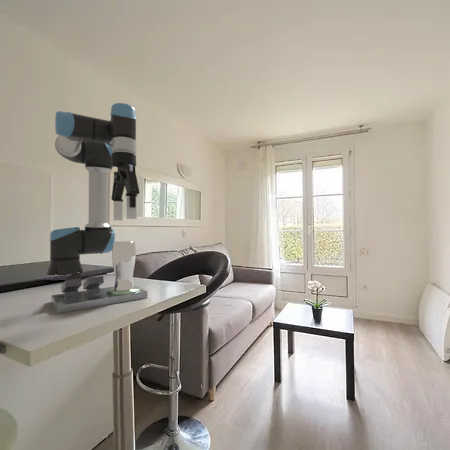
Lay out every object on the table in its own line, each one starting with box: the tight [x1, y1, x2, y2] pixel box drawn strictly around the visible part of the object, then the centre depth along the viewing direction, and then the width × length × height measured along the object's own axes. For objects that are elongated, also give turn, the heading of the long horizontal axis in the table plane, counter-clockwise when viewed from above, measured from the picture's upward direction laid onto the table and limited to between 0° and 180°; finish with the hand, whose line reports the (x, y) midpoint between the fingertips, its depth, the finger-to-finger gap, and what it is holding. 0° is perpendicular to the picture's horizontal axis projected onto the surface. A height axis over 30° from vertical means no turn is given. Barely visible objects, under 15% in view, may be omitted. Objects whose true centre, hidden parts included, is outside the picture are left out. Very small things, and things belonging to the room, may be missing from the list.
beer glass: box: [111, 240, 137, 291], centre depth 85 cm, size 7×7×15 cm
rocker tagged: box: [60, 278, 83, 294], centre depth 80 cm, size 9×4×2 cm, turn 38°
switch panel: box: [50, 285, 148, 314], centre depth 82 cm, size 15×24×3 cm, turn 128°
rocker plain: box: [82, 275, 105, 291], centre depth 83 cm, size 9×4×2 cm, turn 38°
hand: (124, 219), depth 86 cm, fingers open, 13 cm apart
